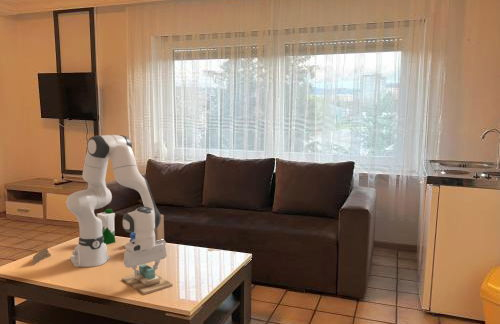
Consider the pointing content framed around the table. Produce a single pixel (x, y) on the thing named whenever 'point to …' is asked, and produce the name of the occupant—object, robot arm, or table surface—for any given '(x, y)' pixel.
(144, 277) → the block
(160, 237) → the wooden block
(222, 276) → the table surface
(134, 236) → the grapes
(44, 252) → the wood plank
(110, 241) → the milk carton
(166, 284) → the wooden board
